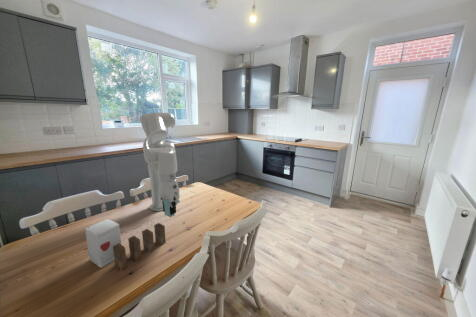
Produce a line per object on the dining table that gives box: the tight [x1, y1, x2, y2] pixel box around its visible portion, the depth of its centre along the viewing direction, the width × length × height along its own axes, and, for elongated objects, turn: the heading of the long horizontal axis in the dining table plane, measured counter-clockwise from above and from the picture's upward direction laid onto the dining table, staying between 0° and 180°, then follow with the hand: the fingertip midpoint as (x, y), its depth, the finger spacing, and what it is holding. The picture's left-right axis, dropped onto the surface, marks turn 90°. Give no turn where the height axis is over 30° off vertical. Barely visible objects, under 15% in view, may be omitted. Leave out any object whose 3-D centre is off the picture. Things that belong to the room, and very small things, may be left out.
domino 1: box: [113, 243, 128, 272], centre depth 76 cm, size 2×4×9 cm, turn 57°
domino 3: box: [141, 228, 155, 254], centre depth 85 cm, size 2×4×9 cm, turn 57°
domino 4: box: [153, 222, 166, 246], centre depth 90 cm, size 2×4×9 cm, turn 57°
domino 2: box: [127, 235, 142, 262], centre depth 80 cm, size 2×4×9 cm, turn 57°
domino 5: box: [164, 199, 176, 218], centre depth 92 cm, size 2×4×9 cm, turn 57°
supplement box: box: [84, 218, 122, 269], centre depth 79 cm, size 9×9×15 cm
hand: (169, 211), depth 93 cm, fingers closed on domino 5, 4 cm apart
